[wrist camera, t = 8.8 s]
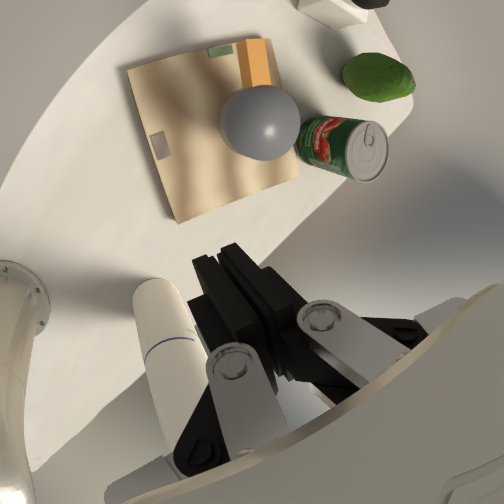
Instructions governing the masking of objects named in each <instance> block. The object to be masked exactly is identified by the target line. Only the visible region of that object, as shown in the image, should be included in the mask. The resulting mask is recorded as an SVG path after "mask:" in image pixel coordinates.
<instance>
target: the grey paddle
mask: <svg viewBox="0 0 504 504" xmlns="http://www.w3.org/2000/svg"><path fill="white" fill-rule="evenodd" d="M236 48H237V55H238V61H239V68H240V75H241V82H242V89H239V90H237V91H235V92H234V93H232V94H231V95H230V96H229V97H228V98H227V99H226V100H225V102H224V103H223V105H222V107H221V109H220V112H219V117H218V126H219V132H220V135H221V137H222V139H223V141H224V142H225V144H226V145H227V146H228V147H229V148H230V149H231V150H232V151H234V152H236V153H238V154H240V155H243V156H246V157H248V158H251V159H255V160H259V161H270V160H274V159H277V158H279V157H281V156H283V155H284V154H285V153H287V152H288V151H289V150H290V149H291V147H292V146H293V145H294V143H295V141H296V139H297V137H298V134H299V130H300V114H299V110H298V107H297V105H296V103H295V101H294V100H293V99H292V97H291V96H290V95H289V94H288V93H287V92H285V91H284V90H283V89H281V88H279V87H276V86H273V85H271V81H270V74H269V67H268V59H267V53H266V46H265V39H245V40H243V41H241V42H239V43H237V44H236Z"/></svg>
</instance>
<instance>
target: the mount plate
mask: <svg viewBox="0 0 504 504" xmlns="http://www.w3.org/2000/svg"><path fill="white" fill-rule="evenodd" d="M238 43H239V42H238ZM236 44H237V43H232V44H226V45H220V46H215V47H210V48H205V49H200V50H196V51H192V52H187V53H183V54H179V55H175V56H172V57H168V58H164V59H161V60H157V61H154V62H151V63H148V64H144V65H141V66H138V67H135V68H132V69H130V70H127V75H128V78H129V82H130V85H131V89H132V92H133V96H134V99H135V102H136V106H137V109H138V112H139V116H140V119H141V122H142V125H143V128H144V132H145V135H146V138H147V141H148V144H149V147H150V150H151V153H152V156H153V159H154V162H155V165H156V168H157V171H158V174H159V176H160V179H161V182H162V185H163V188H164V191H165V193H166V196H167V199H168V202H169V204H170V207H171V210H172V213H173V215H174V218H175V221H176V222H177V224H180V223H183V222H185V221H187V220H190V219H192V218H194V217H197V216H199V215H202V214H204V213H206V212H209V211H211V210H214V209H216V208H219V207H221V206H224V205H226V204H229V203H231V202H234V201H236V200H239V199H241V198H244V197H246V196H249V195H251V194H254V193H257V192H259V191H262V190H265V189H267V188H270V187H272V186H275V185H278V184H281V183H283V182H286V181H289V180H291V179H294V178H297V177H299V173H298V167H297V161H296V156H295V150H294V145H293V146H292V147H291V149H290V150H289V151H288V152H287V153H285V154H284V155H283V156H281V157H279V158H277V159H274V160H270V161H259V160H255V159H251V158H248V157H246V156H243V155H240V154H238V153H236V152H234V151H232V150H231V149H230V148H229V147H228V146H227V145H226V144H225V142H224V141H223V139H222V137H221V135H220V132H219V126H218V117H219V112H220V109H221V107H222V105H223V103H224V102H225V100H226V99H227V98H228V97H229V96H230V95H231V94H232V93H234V92H235V91H237V90H239V89H242V82H241V75H240V68H239V61H238V55H237V48H236ZM265 46H266V53H267V59H268V67H269V74H270V81H271V85H273V86H276V87H279V88H281V89H282V85H281V81H280V76H279V72H278V68H277V63H276V59H275V55H274V51H273V47H272V43H271V39H270V38H269V39H265Z"/></svg>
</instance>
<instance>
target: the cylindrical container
mask: <svg viewBox="0 0 504 504" xmlns="http://www.w3.org/2000/svg"><path fill="white" fill-rule="evenodd" d="M132 304H133V310H134V316H135V322H136V327H137V332H138V337H139V342H140V347H141V351H142V356H143V360H144V365H145V369H146V373H147V377H148V381H149V385H150V389H151V393H152V396H153V400H154V404H155V407H156V411H157V414H158V418H159V421H160V424H161V427H162V430H163V434H164V437H165V440H166V442H167V445H168V448H169V451H170V453H172V452H173V451H174V448H175V445H176V443H177V441H178V440H179V438H180V436H181V434H182V432H183V430H184V428H185V426H186V425H187V423H188V421H189V419H190V417H191V415H192V413H193V411H194V409H195V408H196V406H197V404H198V402H199V400H200V398H201V396H202V394H203V392H204V390H205V388H206V386H207V384H208V383H209V382H208V378H207V374H206V361H207V359H208V357H207V355H206V352H205V350H204V348H203V346H202V344H201V342H200V340H199V337H198V336H197V333H196V331H195V328H194V326H193V324H192V322H191V319H190V317H189V315H188V313H187V310H186V308H185V306H184V303H183V301H182V299H181V296H180V294H179V291H178V289H177V288H176V286H175V285H174V284H173V283H171V282H170V281H167V280H165V279H150V280H147V281H145V282H143V283H142V284H140V285H139V286H138V287H137V288H136V290H135V291H134V293H133V297H132Z"/></svg>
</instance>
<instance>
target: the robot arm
mask: <svg viewBox="0 0 504 504" xmlns="http://www.w3.org/2000/svg"><path fill="white" fill-rule="evenodd" d="M217 258H218V261H219V263H218V262H217V260H216V259H215V258H214V256H211V257H208V256H207V255H206V254H205V255H203V256H200V257H198V258H196V259H193V260H192V263H193V266H194V269H195V271H196V274H197V277H198V280H199V282H200V285H201V288H202V290H203V293H204V294H203V295H201V296H199V297H196V298H194V299H192V300H189V301H187V303H188V306H189V308H190V310H191V312H192V315H193V317H194V319H195V321H196V324H197V326H198V328H199V330H200V332H201V334H202V337H203V339H204V341H205V343H206V345H207V347H208V349H209V351H210V353H211V354H210V356H209V357H208V359H207V361H206V374H207V378H208V382H209V383H208V384H207V386H206V388H205V390H204V392H203V394H202V396H201V398H200V400H199V402H198V404H197V406H196V408H195V409H194V411H193V413H192V415H191V417H190V419H189V421H188V423H187V425H186V426H185V428H184V430H183V432H182V434H181V436H180V438H179V440H178V441H177V443H176V445H175V448H174V451H173V452H172V453H170V454H168V455H167V456H165V457H164V456H163V455H161V456H159V457H158V458H156V459H154V460H153V461H151V462H149V463H147V464H146V465H144V466H142V467H140V468H139V469H137V470H135V471H133V472H131V473H130V474H128V475H126V476H124V477H122V478H120V479H119V480H117V481H115V482H113V483H112V484H110V485H109V486H108V487H107V489H106V491H105V494H104V501H105V504H504V281H501V282H498V283H495V284H492V285H490V286H488V287H486V288H484V289H482V290H480V291H479V292H477V293H476V294H474V295H473V296H472V297H470V298H469V299H468V300H466V299H463V298H458V297H455V298H451V299H449V300H447V301H445V302H443V303H441V304H439V305H437V306H435V307H433V308H431V309H429V310H427V311H425V312H423V313H421V314H419V315H416V316H414V319H413V320H407V319H390V318H370V317H359V316H357V315H356V314H354V313H352V312H351V311H349V310H348V309H346V308H345V307H343V306H342V305H340V304H338V303H336V302H334V301H330V300H316V301H312V302H310V303H308V302H306V301H305V300H304V299H303V298H302V297H301V296H300V295H299V294H298V293H297V292H296V291H295V290H294V289H293V288H292V287H291V286H290V285H289V284H288V283H287V282H286V281H285V280H284V279H283V278H282V277H281V276H280V275H279V274H278V273H276V271H275V270H274V269H273V268H271V267H269V266H268V267H265V268H263V269H260V268H259V267H258V266H257V265H256V263H255V262H254V261H253V260H252V259H251V258H250V257H249V256H248V255H247V254H246V253H245V252H244V251H243V250H242V249H241V248H240V247H239V246H238V245H237V244H236V243H232V244H230V245H227V246H225V247H222V248H221V253H218V254H217ZM6 267H7V268H6ZM49 314H50V303H49V298H48V295H47V293H46V290H45V288H44V287H43V285H42V283H41V282H40V281H39V280H38V278H37V277H36V276H35V275H34V274H33V273H32V272H31V271H29V270H28V269H26V268H25V267H23V266H21V265H19V264H16V263H13V262H9V261H0V504H36V495H35V488H34V484H33V479H32V475H31V471H30V467H29V463H28V459H27V454H26V449H25V440H24V406H25V396H26V386H27V378H28V371H29V364H30V358H31V352H32V347H33V342H34V337H35V336H36V335H38V334H40V333H41V332H42V331H43V330H44V328H45V327H46V325H47V322H48V319H49ZM273 370H274V371H275V372H276V374H277V375H278V376H279V377H280V376H282V375H284V376H285V377H286V379H287V380H288V381H291V380H293V379H295V380H296V381H301V382H305V385H306V386H307V387H308V388H309V389H310V390H311V391H312V392H313V393H314V394H315V395H317V396H318V397H319V398H320V399H321V400H322V401H323V402H324V403H325V404H327V405H328V406H329V407H330V408H331V409H330V410H328V411H327V412H325V413H323V414H322V415H320V416H318V417H317V418H315V419H313V420H312V421H310V422H308V423H306V424H305V425H303V426H301V427H299V428H298V429H296V430H294V431H291V429H290V427H289V425H288V423H287V420H286V419H285V416H284V414H283V412H282V409H281V407H280V405H279V403H278V400H277V398H276V395H277V392H278V387H277V383H276V379H275V375H274V371H273Z"/></svg>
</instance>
